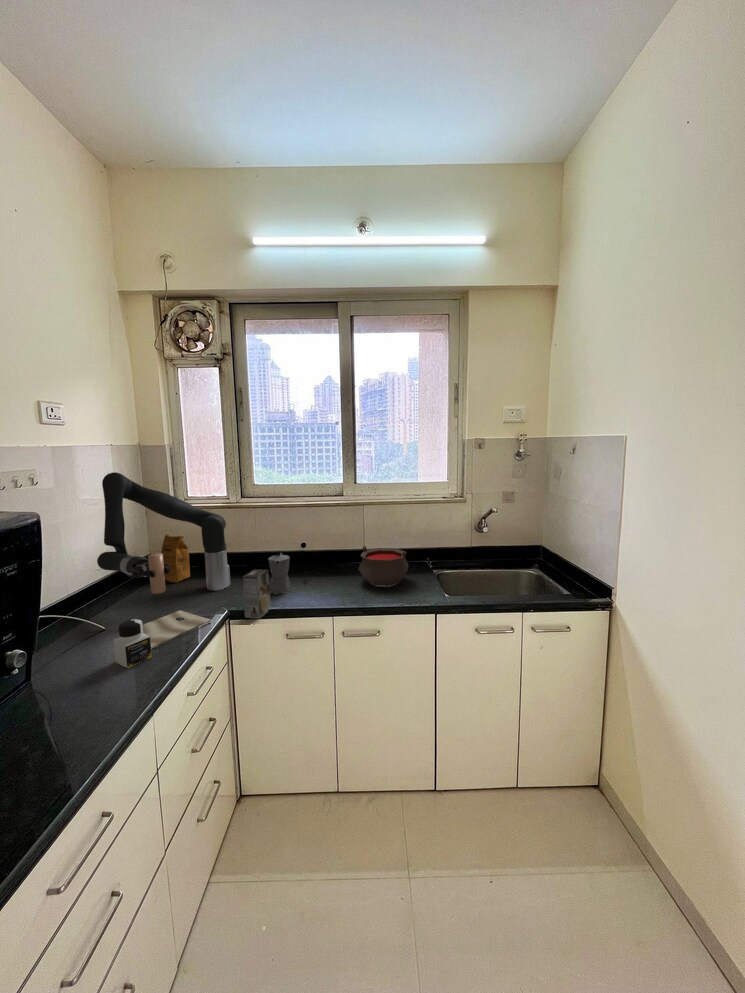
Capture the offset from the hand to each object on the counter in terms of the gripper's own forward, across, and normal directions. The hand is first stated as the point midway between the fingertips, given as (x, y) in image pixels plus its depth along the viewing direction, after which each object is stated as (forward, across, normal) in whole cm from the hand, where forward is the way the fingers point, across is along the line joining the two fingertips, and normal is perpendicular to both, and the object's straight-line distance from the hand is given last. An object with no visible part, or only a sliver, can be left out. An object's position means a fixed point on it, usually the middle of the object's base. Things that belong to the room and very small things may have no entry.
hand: (161, 572), depth 144 cm
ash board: (+9, -5, +18) cm, 21 cm away
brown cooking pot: (+53, +74, +18) cm, 92 cm away
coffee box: (+27, +20, +18) cm, 38 cm away
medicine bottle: (+20, -22, +18) cm, 34 cm away
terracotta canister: (-3, 0, +8) cm, 8 cm away
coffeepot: (+17, +43, +18) cm, 50 cm away
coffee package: (-39, +30, +18) cm, 52 cm away
